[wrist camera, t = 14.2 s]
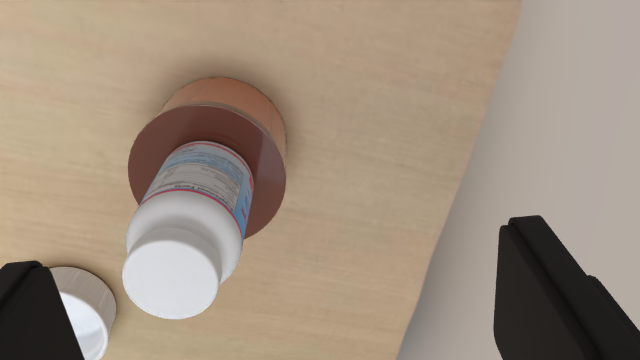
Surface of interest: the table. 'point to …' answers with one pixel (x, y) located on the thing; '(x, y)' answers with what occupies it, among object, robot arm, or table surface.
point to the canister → (218, 139)
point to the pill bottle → (188, 230)
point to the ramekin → (87, 308)
